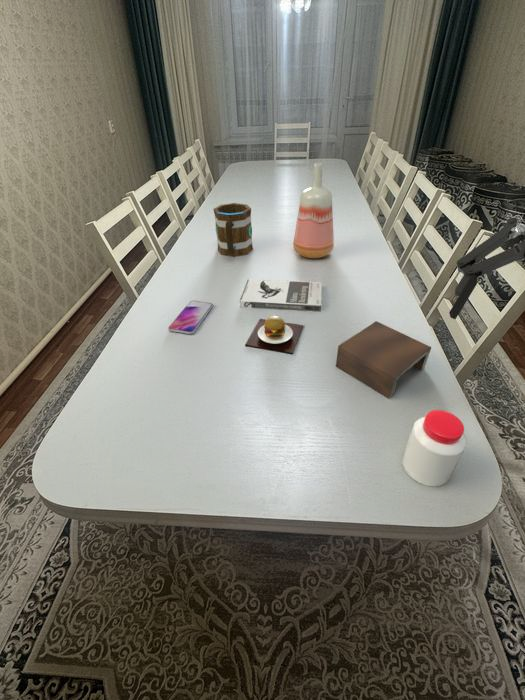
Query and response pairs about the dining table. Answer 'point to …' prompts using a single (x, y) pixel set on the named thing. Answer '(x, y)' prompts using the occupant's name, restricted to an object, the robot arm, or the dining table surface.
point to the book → (282, 295)
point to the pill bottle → (434, 448)
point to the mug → (233, 229)
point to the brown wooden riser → (381, 357)
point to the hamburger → (275, 335)
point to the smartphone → (190, 317)
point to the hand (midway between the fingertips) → (498, 334)
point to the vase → (314, 220)
